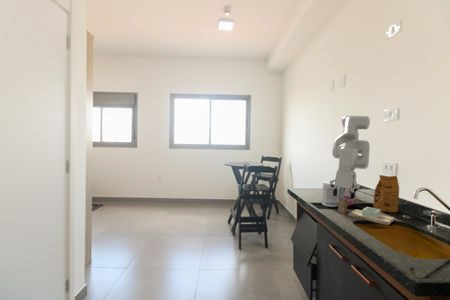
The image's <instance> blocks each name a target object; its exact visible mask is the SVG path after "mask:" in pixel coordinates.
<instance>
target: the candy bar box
mask: <svg viewBox="0 0 450 300" xmlns="http://www.w3.org/2000/svg"><path fill="white" fill-rule="evenodd" d="M355 182H356V183H357V179H356V180H355ZM356 187H357V186H354V189H356ZM351 192H352V191H351V190H350V189H348V188H341V187H339V188H338V202H339V199H340V198H346V199H348V205H347V207H349V206H355V205H356V200H355V196H356V192H357V191H356V192H355V196H354V198H353V199H350V197H351ZM356 197H357V196H356Z"/></svg>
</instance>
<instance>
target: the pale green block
mask: <svg viewBox="0 0 450 300" xmlns="http://www.w3.org/2000/svg"><path fill="white" fill-rule="evenodd" d="M381 213H382V212H381V210H380V209H375V208H374V207H369V206H366V207H365V208H362V216H367V217H371V218H377V217H379V216H380V214H381Z"/></svg>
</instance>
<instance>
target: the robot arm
mask: <svg viewBox="0 0 450 300" xmlns="http://www.w3.org/2000/svg"><path fill="white" fill-rule="evenodd" d="M370 119H371V118H370V117H369V116H368V115H344V116H343V117H342V118H341V124H342V127H343V131H342V133H341V134H340V135H339V136H338V137H337V138H336V139H335V140H334V143H333V145H332V146H333V147H332V156H333V158H335V159H338V169H337V171H336V173H335V178H334V179H332V180H329V182H330V184H331V187H332V188H333V194H334V196H337V187H341V188H348V189H350V190H351V191H352V192H351V197H350V199H353V198H354V196H355V192H357V191H359V189H360V188H361V185H360V184H358V183H357V173H356V171H355V170H356V169H357V170H358V169H359V170H366V169H368V167H369V164H370V163H369V162H370V161H369V160H370V142H369V141H368V140H365V139H364V140H363V139H362V140H360V139H359V136H360V134H359V132H358V131H359V130H368V129H369V127H370V123H371V121H370ZM343 144H344V146H342V145H343ZM355 180H356V182H355ZM333 182H335V186H334V185H333ZM354 186H356V189H354ZM355 199H356V200H357V199H358V198H357V196H355Z"/></svg>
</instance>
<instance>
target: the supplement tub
mask: <svg viewBox="0 0 450 300" xmlns="http://www.w3.org/2000/svg"><path fill="white" fill-rule="evenodd" d="M333 185H334V186H335V182H333ZM338 194H339V187H337V196H334V194H333V188H332V187H331V184H330V181H323V182H322V193H321V205H323V206H324V207H329V208H335V207H338Z"/></svg>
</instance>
